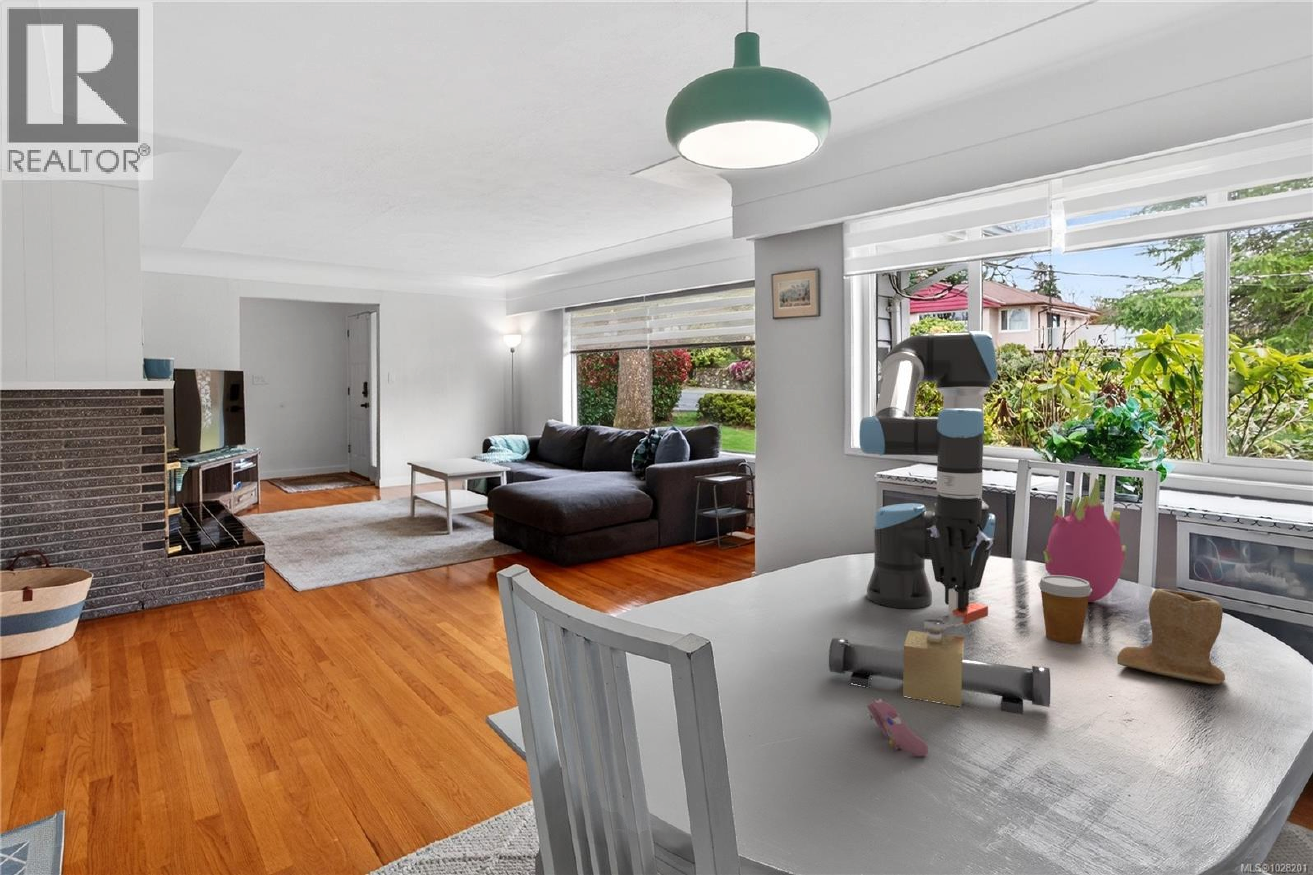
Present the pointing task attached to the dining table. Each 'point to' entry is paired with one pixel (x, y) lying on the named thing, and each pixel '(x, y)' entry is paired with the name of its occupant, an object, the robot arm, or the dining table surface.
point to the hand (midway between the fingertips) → (956, 623)
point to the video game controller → (896, 728)
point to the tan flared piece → (1179, 638)
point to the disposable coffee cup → (1064, 606)
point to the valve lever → (957, 618)
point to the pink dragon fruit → (1087, 545)
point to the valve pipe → (940, 671)
